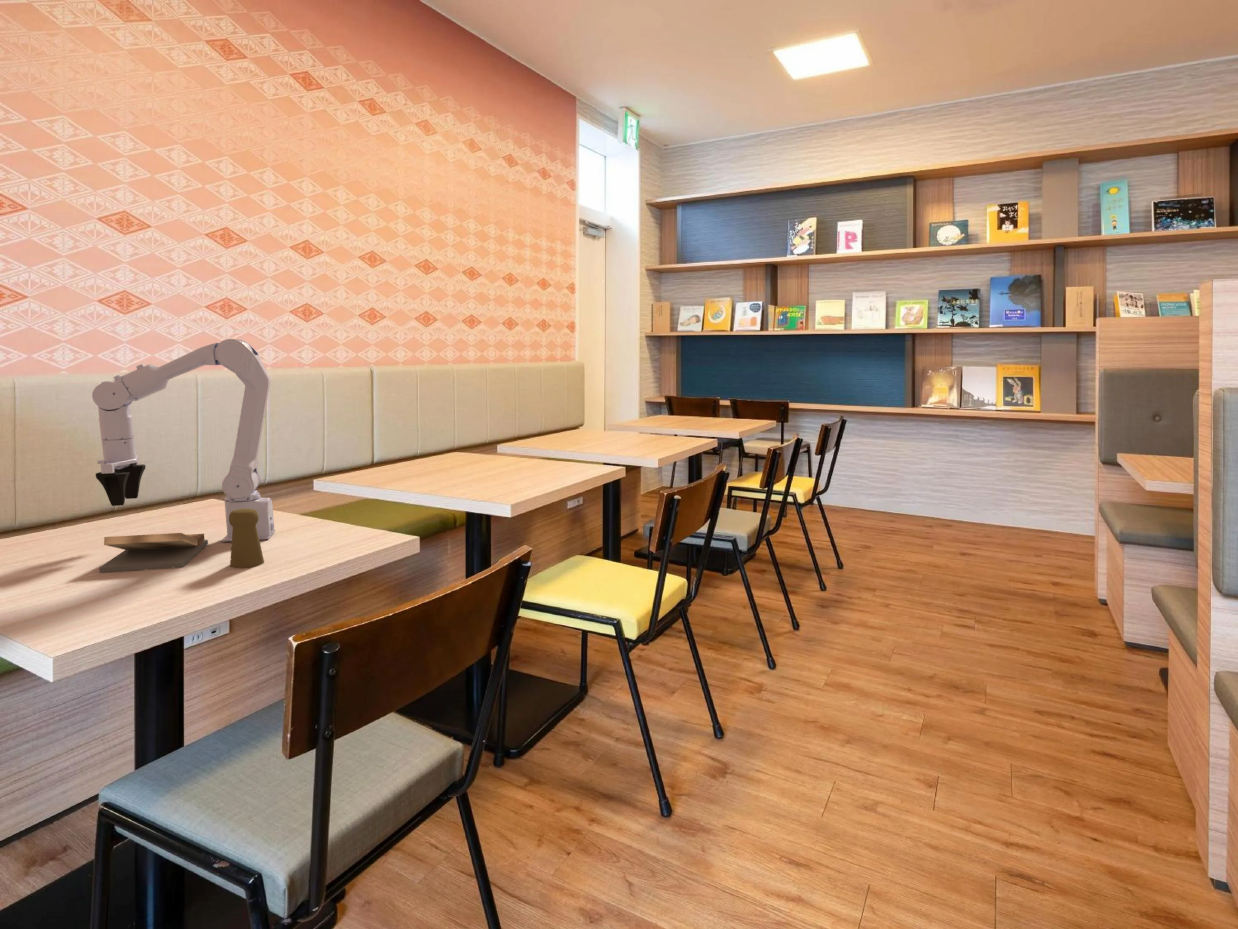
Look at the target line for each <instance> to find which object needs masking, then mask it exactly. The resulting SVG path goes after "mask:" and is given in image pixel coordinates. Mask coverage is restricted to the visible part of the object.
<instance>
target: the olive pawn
mask: <svg viewBox="0 0 1238 929" xmlns="http://www.w3.org/2000/svg"><path fill="white" fill-rule="evenodd" d="M258 519H259V516H258V512H257V511H256V510H254V509H250V508H242V509H237V510H234V511H232V512H231V513H230V515H229V522H230V524H231V526H232V527H233V532H232V541H231V547H230V548H231V549H230V563H229V566H230V567H231V568H233V567H234V569H246V568H247V569H248V568H254V567H258V566H261V565H263V564H265V560H264V556H263V550H262V546H261V545H262V544H261V542H260V540H259V536H258V532H257V527H256V524H257V522H258Z"/></svg>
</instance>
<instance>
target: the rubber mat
mask: <svg viewBox="0 0 1238 929" xmlns="http://www.w3.org/2000/svg"><path fill="white" fill-rule="evenodd" d="M208 545H209V539H205V540H204V541H203V542H202V543H201V544H200V545H199V546H187V547H171V548H154V549H137V550H123V551H122V552H120V553H119V554H117V555H116V556H114V557H112V558H111V559H110V560H108V561H107V562H105V563H104V564H102V565H101V566H99V567H98V570H99V573H100V572H103V573H113V571H118V572H125V571H124V570H133V571H144V570H143V569H148V570H158V569H157V568H163V569H173V568H172V567H178V568H183V567H185V566H186V565H187V564H188V563H189V562H191V561H192V559H193V558H195V557H196V556H197V555H198V554H199V553H200V552H201V551H202V550H204V548H206V547H207V546H208ZM205 546H206V547H205ZM195 555H196V556H195ZM194 556H195V557H194ZM185 564H186V565H185ZM184 565H185V566H184Z"/></svg>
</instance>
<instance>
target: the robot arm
mask: <svg viewBox="0 0 1238 929" xmlns="http://www.w3.org/2000/svg"><path fill="white" fill-rule="evenodd" d="M204 366H223V367H224V368H226V369H227V370H229V371H230V372H232V373H233V374H235V375H236V377H237V378H238V379H239V380H240V381H241V382H242V383H243V385H244V386H245V387H244V391H243V398H242V402H241V404H242V405H241V410H240V415H239V422H238V427H237V433H236V440H235V445H234V446H235V447H234V452H233V457H232V460H231V462H230V466H229V470H228V473H227V475H226V476H225V477H224V478H223V480H222V482H221V483H222V484H221V489H222V492H223V493H224V495H225V497H224V499H223V500H224V509H225V510H224V511H225V523H226V534H227V535H225V536H224V537H223V538H222V539H221V542H223V543H227V542H232V532H233V527H232V526H231V524H230V522H229V515H230V513H231V512H232V511H234V510H237V509H242V508H250V509H254V510H256V511H257V512H258V516H259V519H258V522H257V524H256V527H257V532H258V536H259V541H260V540H261V541H262V540H269V539H270V538H271V537H272V536H273V535H274V533H275V532H276V529H275V519H274V506H273V501H272V498H270V497H262V496H261V493H260V492H259V491H258V490H256V489H257V488H258V487H259V485H260V482H261V479H260V474H259V472H258V466H259V458H258V456H259V450H260V445H261V440H262V439H261V438H262V434H263V428H264V421H265V417H266V415H265V414H266V409H267V406H268V399H269V392H270V387H271V378H270V376H269V374H268V371H267V369H266V367H265V365H264V363H263V361H262V359H261V356H260V353H259V351H257V350H256V349H255V348H254V347H253V346H252V345H251V344H250V343H249V342H247V341H246V340H243V339H234V338H226V339H223V340H221V341H220V342H214V343H211V344H207V345H204V346H202V347H201V346H200V347H199V348H197V349H194V350H192V351H190V352H189V353H186V354H184V355H182V356H180V357H178V358H175V359H173V360H171V361H168V362H167V363H165V364H163V365H160V366H157V365H155V364H146V365H145V364H144V363H141V364H138V365H137V366H136V367H135V368H136V369H135V370H133V371H130V372H127V373H125V374H124V375H120V374H118V375H115V376H113V379H114V381H110V380H108V381H107V380H106V381H102V382H100V384H98V385H96V386H95V387H94V389H93V390H92V394H91V395H92V396H91V397H92V400H93V402H94V404H95V405H96V406H97V409H98V422H99V432H100V439H101V448H102V454H103V456H102V457H103V459H98V460H97V464H98V465H99V464H100V471H99V472H96V473H95V478H96V480H98V481H99V483H100V484H101V486H102V487H103V489H104V491H105V493H106V496H107V498H108V500H109V503H110V505H111V507H117V506H119V507H120V506H124V505H125V501H126V499H127V500H128V499H129V500H133V499H138V498H139V492H140V486H141V485H140V484H141V480H142V476H143V475H144V472H145V470H146V467H147V466H146V464H145V463H144V464H139V463H140V460H139V459H140V458H139V454H137V452H136V442H135V434H134V433H135V432H134V425H133V416H132V411H131V404H132V403H133V402H137V401H139V400H142V399H145V398H147V397H149V396H151V395H154V394H156V393H157V392H158V393H159V392H161V391H162V390H164V389H166V387H167V385H168V383H169V380H171V379H174V378H176V377H179V376H181V375H184V374H187V373H190V372H191V371H194V370H196V369H199V368H201V367H204Z"/></svg>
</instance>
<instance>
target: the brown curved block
mask: <svg viewBox="0 0 1238 929" xmlns="http://www.w3.org/2000/svg"><path fill="white" fill-rule="evenodd" d="M187 535H188V536H191V537H194V538H197V539H198V546H199V545H200V544H201V543H202V542H203V541H204V540H206V539H205V533H194V534H190V533H189V534H187Z"/></svg>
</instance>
